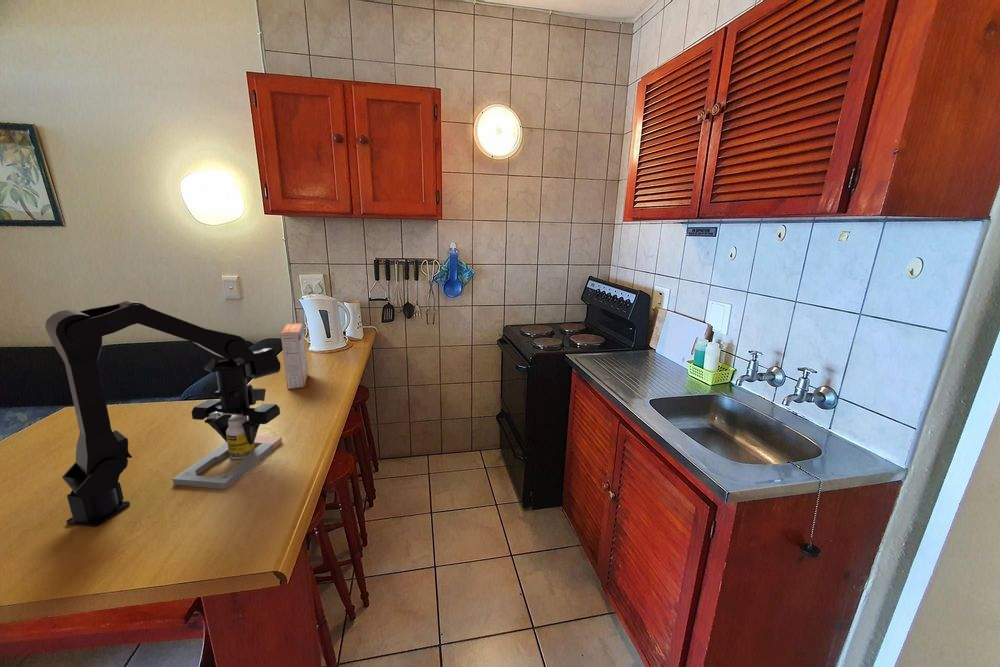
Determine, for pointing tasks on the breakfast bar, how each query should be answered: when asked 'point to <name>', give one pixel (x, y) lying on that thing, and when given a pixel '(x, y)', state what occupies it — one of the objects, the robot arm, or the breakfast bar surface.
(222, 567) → the breakfast bar surface
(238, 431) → the supplement bottle
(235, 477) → the keyhole board
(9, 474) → the breakfast bar surface
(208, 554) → the breakfast bar surface
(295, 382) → the cracker box
